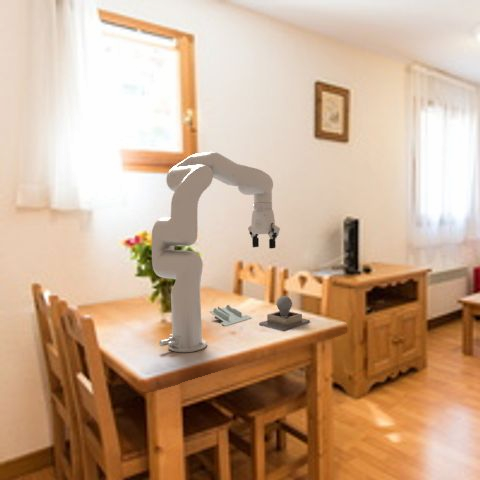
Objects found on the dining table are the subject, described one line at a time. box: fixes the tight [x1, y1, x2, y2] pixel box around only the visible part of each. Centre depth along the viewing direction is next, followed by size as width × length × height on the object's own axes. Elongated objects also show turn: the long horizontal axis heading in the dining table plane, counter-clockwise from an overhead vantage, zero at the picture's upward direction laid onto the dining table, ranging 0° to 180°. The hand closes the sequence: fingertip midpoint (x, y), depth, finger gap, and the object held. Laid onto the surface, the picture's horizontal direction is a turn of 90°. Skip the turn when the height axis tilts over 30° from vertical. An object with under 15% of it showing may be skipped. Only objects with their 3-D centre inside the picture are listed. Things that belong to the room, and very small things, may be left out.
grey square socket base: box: [258, 310, 311, 332], centre depth 159 cm, size 16×12×4 cm
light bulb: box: [276, 295, 293, 318], centre depth 159 cm, size 6×6×10 cm
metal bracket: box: [208, 304, 253, 327], centre depth 167 cm, size 14×6×15 cm
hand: (263, 247), depth 173 cm, fingers open, 9 cm apart
